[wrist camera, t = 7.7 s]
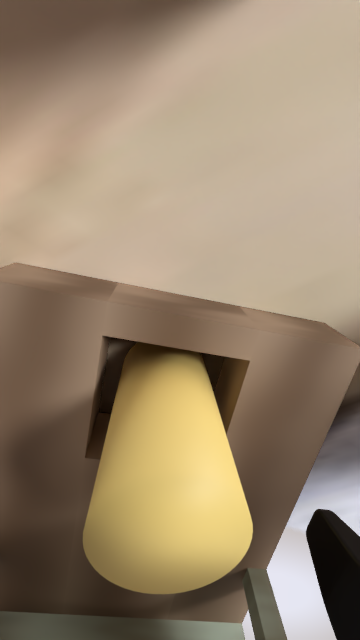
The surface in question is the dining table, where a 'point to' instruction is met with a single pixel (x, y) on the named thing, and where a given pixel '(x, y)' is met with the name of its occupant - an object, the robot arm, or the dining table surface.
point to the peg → (166, 480)
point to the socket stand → (89, 437)
